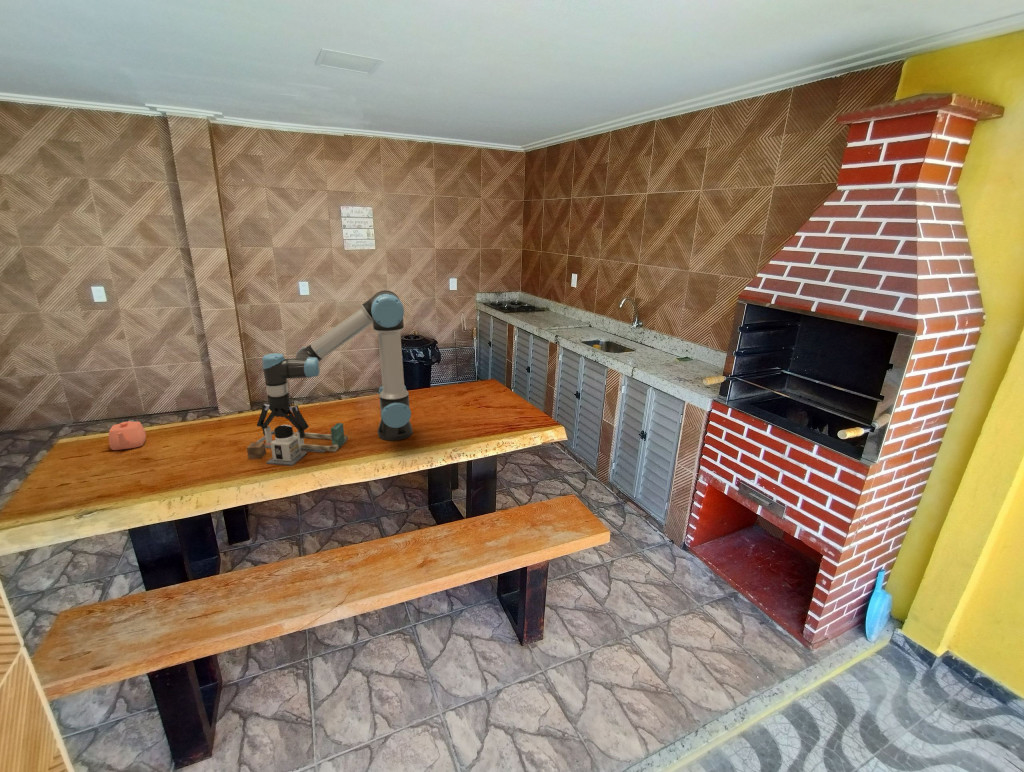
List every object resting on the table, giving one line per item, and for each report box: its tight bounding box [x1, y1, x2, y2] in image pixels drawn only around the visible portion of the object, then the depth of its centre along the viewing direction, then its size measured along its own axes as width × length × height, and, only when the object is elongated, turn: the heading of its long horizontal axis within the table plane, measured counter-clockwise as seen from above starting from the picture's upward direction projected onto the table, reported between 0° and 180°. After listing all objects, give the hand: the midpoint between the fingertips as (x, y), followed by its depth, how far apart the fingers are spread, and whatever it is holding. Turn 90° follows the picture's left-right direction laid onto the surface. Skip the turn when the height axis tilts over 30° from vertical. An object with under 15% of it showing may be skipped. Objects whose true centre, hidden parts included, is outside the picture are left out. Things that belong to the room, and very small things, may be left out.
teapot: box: [108, 420, 147, 451], centre depth 203 cm, size 12×18×10 cm, turn 25°
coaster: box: [266, 451, 308, 467], centre depth 197 cm, size 11×11×1 cm
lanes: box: [255, 430, 326, 454], centre depth 211 cm, size 32×14×1 cm, turn 82°
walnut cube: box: [246, 441, 267, 460], centre depth 198 cm, size 5×5×5 cm
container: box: [270, 424, 301, 461], centre depth 195 cm, size 8×8×13 cm
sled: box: [293, 422, 349, 453], centre depth 208 cm, size 23×12×9 cm, turn 82°
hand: (285, 444), depth 195 cm, fingers open, 13 cm apart
